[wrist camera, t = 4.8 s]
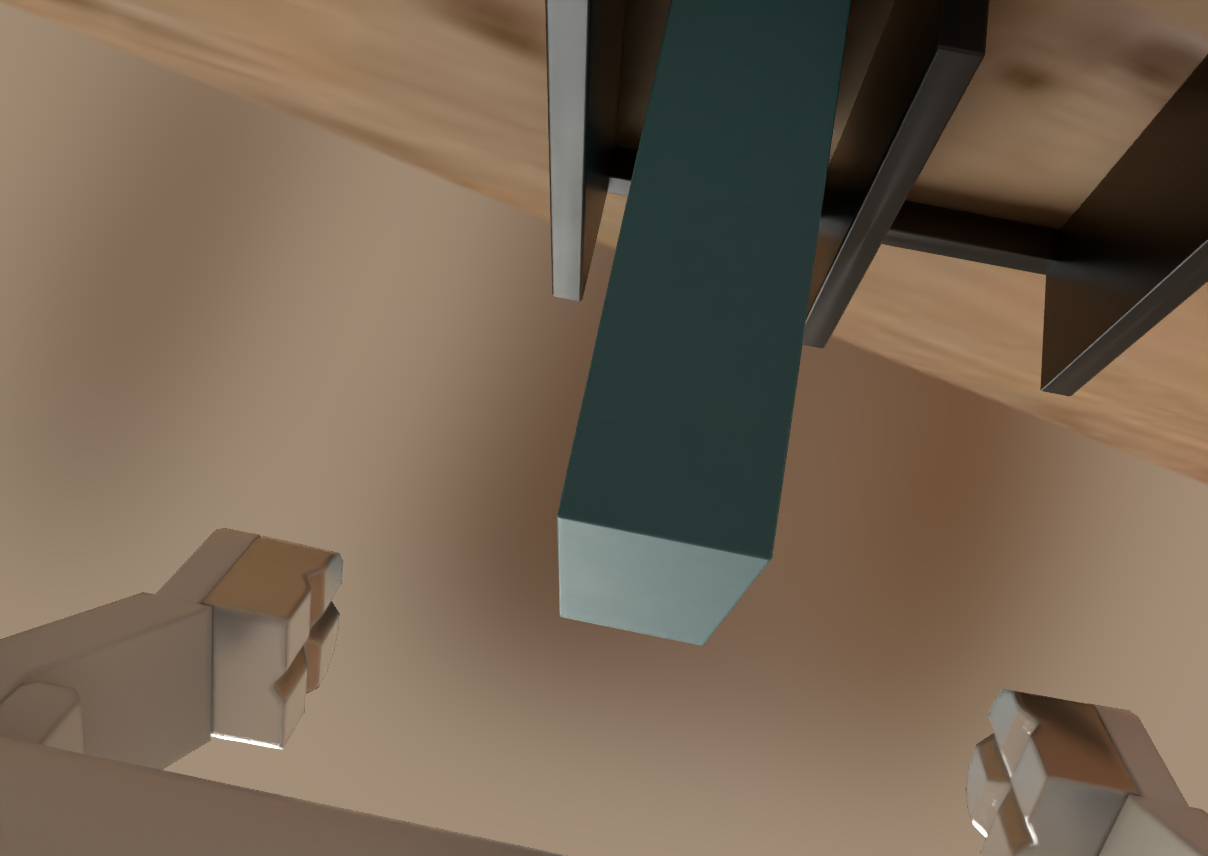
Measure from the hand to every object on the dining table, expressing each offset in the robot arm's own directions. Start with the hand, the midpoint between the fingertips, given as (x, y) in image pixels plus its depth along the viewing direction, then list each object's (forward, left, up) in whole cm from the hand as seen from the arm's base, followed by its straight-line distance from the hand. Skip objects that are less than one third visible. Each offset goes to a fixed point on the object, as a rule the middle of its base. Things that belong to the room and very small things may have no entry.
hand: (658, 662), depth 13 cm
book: (0, +10, -19) cm, 22 cm away
